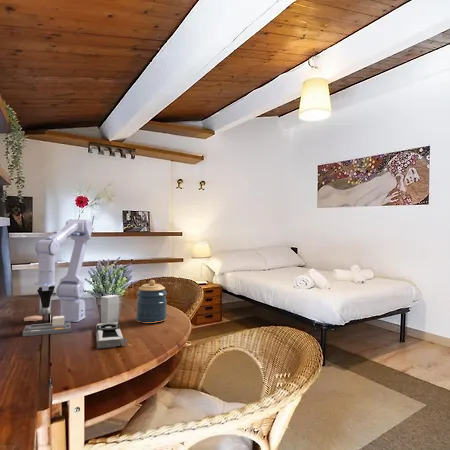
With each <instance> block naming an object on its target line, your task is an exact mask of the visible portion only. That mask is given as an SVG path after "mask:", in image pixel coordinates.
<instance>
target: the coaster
mask: <svg viewBox="0 0 450 450" xmlns="http://www.w3.org/2000/svg"><path fill="white" fill-rule="evenodd" d="M38 320H39V321H42V320H43V316H42V315H30V316H26V317H24V318H23V322H26V321H34V322H38Z"/></svg>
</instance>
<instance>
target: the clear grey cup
mask: <svg viewBox="0 0 450 450" xmlns="http://www.w3.org/2000/svg"><path fill="white" fill-rule="evenodd" d="M52 295H53V294H52ZM52 295H51V299H50V305H49V308H42V304H41V299H40V298H39V315H49V314H51V313H52V301H53V300H52V299H53V298H52V297H53V296H52Z"/></svg>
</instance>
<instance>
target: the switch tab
mask: <svg viewBox="0 0 450 450" xmlns="http://www.w3.org/2000/svg"><path fill="white" fill-rule="evenodd" d="M64 322H65V321H64V316H60V315H55V316H53V317H52V322H51V323H52V326H64Z"/></svg>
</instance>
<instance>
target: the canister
mask: <svg viewBox="0 0 450 450" xmlns="http://www.w3.org/2000/svg"><path fill="white" fill-rule="evenodd" d="M165 289H166V287H165V286H163V285H162V284H160V283H156V281H155V280H154V279H150V280H149V281H148V283H145V284H142V285H141V286H139V287H138V292H136V296H137V300H136V314H135V319H136V321H137V320H138V321H141V322H155V321H161V320H164V319H165V318H166V319H167V301H168V300H167V299H166V298H167V295H168V293H167V291H166V290H165Z"/></svg>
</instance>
